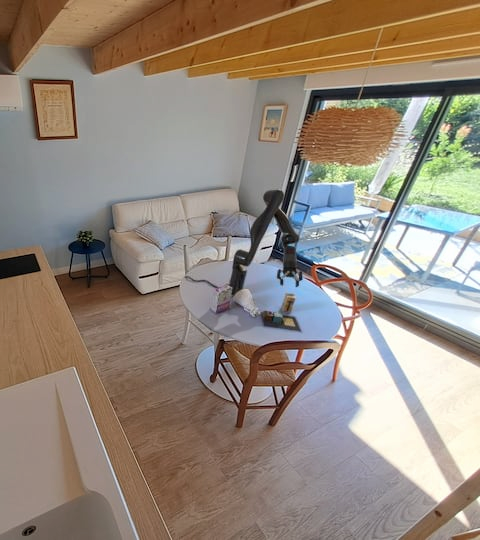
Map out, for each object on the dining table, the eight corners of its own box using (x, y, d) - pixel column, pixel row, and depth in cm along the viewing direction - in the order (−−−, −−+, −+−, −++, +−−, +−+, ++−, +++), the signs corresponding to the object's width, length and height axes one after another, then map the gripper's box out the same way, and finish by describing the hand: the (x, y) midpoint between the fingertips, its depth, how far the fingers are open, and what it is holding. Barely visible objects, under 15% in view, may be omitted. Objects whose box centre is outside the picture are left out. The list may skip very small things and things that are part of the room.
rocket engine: (263, 306, 171) (246, 286, 184) (246, 317, 174) (230, 296, 187) (268, 314, 178) (251, 293, 191) (252, 324, 181) (236, 303, 194)
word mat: (264, 326, 170) (264, 326, 170) (260, 312, 182) (260, 311, 181) (301, 332, 165) (301, 331, 165) (294, 317, 177) (294, 316, 177)
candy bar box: (223, 304, 189) (227, 284, 181) (228, 308, 185) (233, 287, 177) (210, 309, 185) (214, 288, 177) (215, 313, 181) (220, 292, 173)
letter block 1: (263, 320, 174) (264, 314, 172) (261, 316, 178) (263, 310, 176) (271, 321, 173) (273, 315, 171) (269, 317, 177) (271, 311, 175)
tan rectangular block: (282, 312, 181) (287, 297, 175) (280, 308, 185) (285, 293, 179) (290, 313, 180) (295, 298, 174) (288, 309, 184) (293, 294, 178)
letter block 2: (272, 322, 173) (274, 316, 171) (271, 317, 177) (273, 311, 174) (280, 323, 172) (283, 317, 170) (279, 318, 176) (281, 312, 173)
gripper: (299, 264, 187) (299, 288, 183) (275, 262, 190) (275, 286, 186) (304, 261, 180) (304, 286, 176) (279, 259, 183) (279, 283, 179)
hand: (289, 286), depth 181 cm, fingers open, 8 cm apart
